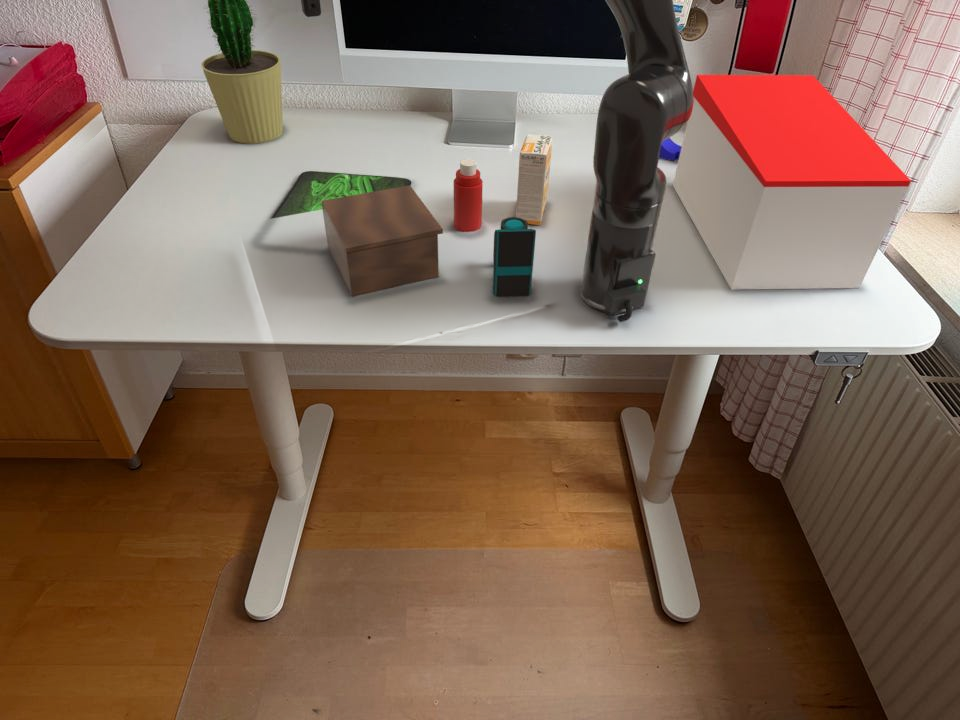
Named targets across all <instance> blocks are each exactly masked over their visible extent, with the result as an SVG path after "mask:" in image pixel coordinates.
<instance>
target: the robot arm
mask: <svg viewBox="0 0 960 720" xmlns="http://www.w3.org/2000/svg"><path fill="white" fill-rule="evenodd" d="M604 1H605V2H606V4H607V6H608V7H609V8H610V10H611V12H612V14H613V16H614V17H615V20H616V21H617V24H618V27H619V29H620V30H619V31H620V32H621V36H622V40H623V46H624V49H625V55H626V61H627V62H626V63H627V69H628V70H627V71H628V73H627V74H625V75H623V76H621V77H619V78H617V79H616V80H614V81H613V82H612V83H610V84H609V86H607V88H606V89H605V91H604V92H603V95H602V96H601V97H602V98H601V100H600V103H599V107H598V112H597V118H596V127H595V137H594V149H593V161H592V163H593V164H592V165H593V166H592V167H593V172H594V175H595V180H596V182H595V188H594V189H595V190H594V197H593V202H592V203H593V204H592V210H591V216H590V224H589V229H588V237H587V243H586V249H585V250H586V251H585V257H584V265H583V271H582V278H581V283H580V287H579V294H580V297H581V300H583V301H584V303H586V305H588V306H590V307H591V308H593V309H595V310H597V311H601V312H605V313H606V315H608V316H615V315H618V317H617V321H618V322H619V323H624V322H626V321H628V320H630V318H631V317H632V315H633V311H634V310H637V309H641V308H644V307H645V304H646V299H647V295H648V290H649V286H650V281H651V277H652V273H653V268H654V264H655V259H656V253H655V251H654V250H653V246H654V242H655V237H656V233H657V228H658V224H659V219H660V215H661V210H662V207H663V202H664V198H665V194H666V189H667V183H668V182H667V181H668V180H667V176H666V174H665V173H664V171H663V170H662V169H661V168H659V167H658V166H659V159H660V157H659V154H660V148H661V144H662V141H664V140H666V139H668V138H669V137H670V138H671V137H673V136H674V135H676V134H677V133H679V132H681V130H682V129H683V128H684V127H686V126H687V122H688V120H689V118H690V116H691V113H692V109H693V102H694V96H693V90H694V86H693V81H692V77H691V73H690V69H689V65H688V62H687V57H686V54H685V49H684V45H683V41H682V38H681V34H680V30H679V26H678V22H677V17H676V12H675V7H674V6H675V5H674V0H604ZM300 4H301V10H302V13H303V14H304V16H306V17H308V18H312V17H319V16H321V14H322V7H321V1H320V0H300ZM622 313H624V314H622ZM619 314H620V315H619Z"/></svg>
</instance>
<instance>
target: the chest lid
mask: <svg viewBox="0 0 960 720" xmlns="http://www.w3.org/2000/svg"><path fill="white" fill-rule="evenodd" d="M321 203H322V206H323V208H324V210H325V212H326V214H327V216H328V218H329V220H330V222H331V224H332V226H333V228H334V230H335V232H336V234H337V236H338V238H339V240H340V242H341V243H342V245H343V247H344V249H345V251H346V253H349V252H354V251H359V250H364V249H368V248H373V247H378V246H383V245H388V244H393V243H398V242H403V241H408V240H413V239H418V238H423V237H428V236H433V235H442V234H443V233H444V229H443V227H442V226H441V224H439V222H438V221H437V219H436V217H434V215H433V213H431V210H429V208H428V207H427V206H426V205H425V203H424V202H423V200H422V199H421V198H420V196H419V195H418V194H417V192H416V191H415V190H414V189H413V187H412V186H411V185H409V186H403V187H398V188H392V189H386V190H380V191H375V192H369V193H363V194H358V195H352V196H346V197H340V198H335V199H329V200H323V201H321Z"/></svg>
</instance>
